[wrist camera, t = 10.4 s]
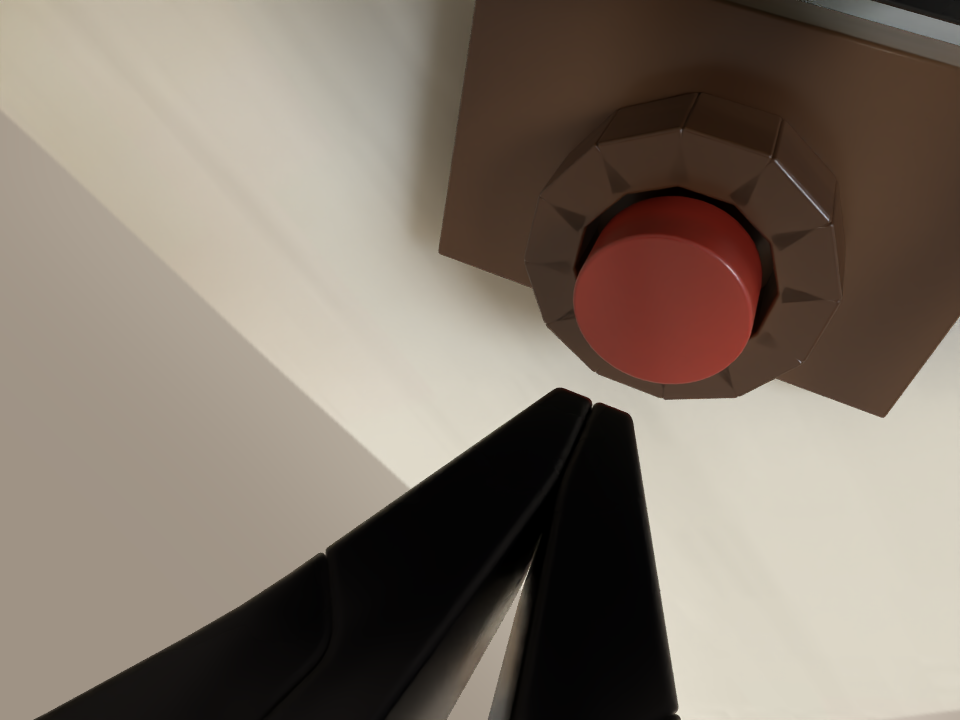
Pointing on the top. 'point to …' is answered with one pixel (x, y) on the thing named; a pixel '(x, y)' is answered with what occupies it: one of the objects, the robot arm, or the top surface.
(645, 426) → the top surface
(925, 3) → the cooker lid
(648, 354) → the button
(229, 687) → the robot arm
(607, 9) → the control block
